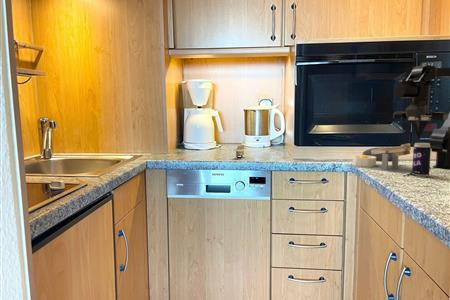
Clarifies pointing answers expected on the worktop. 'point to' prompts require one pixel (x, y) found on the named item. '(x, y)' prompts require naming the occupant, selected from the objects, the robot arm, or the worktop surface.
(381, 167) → the launcher base
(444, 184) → the worktop surface
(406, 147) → the wooden tray
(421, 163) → the beverage can
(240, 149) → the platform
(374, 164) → the beige round puck
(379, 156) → the perforated stone tool
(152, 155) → the worktop surface
